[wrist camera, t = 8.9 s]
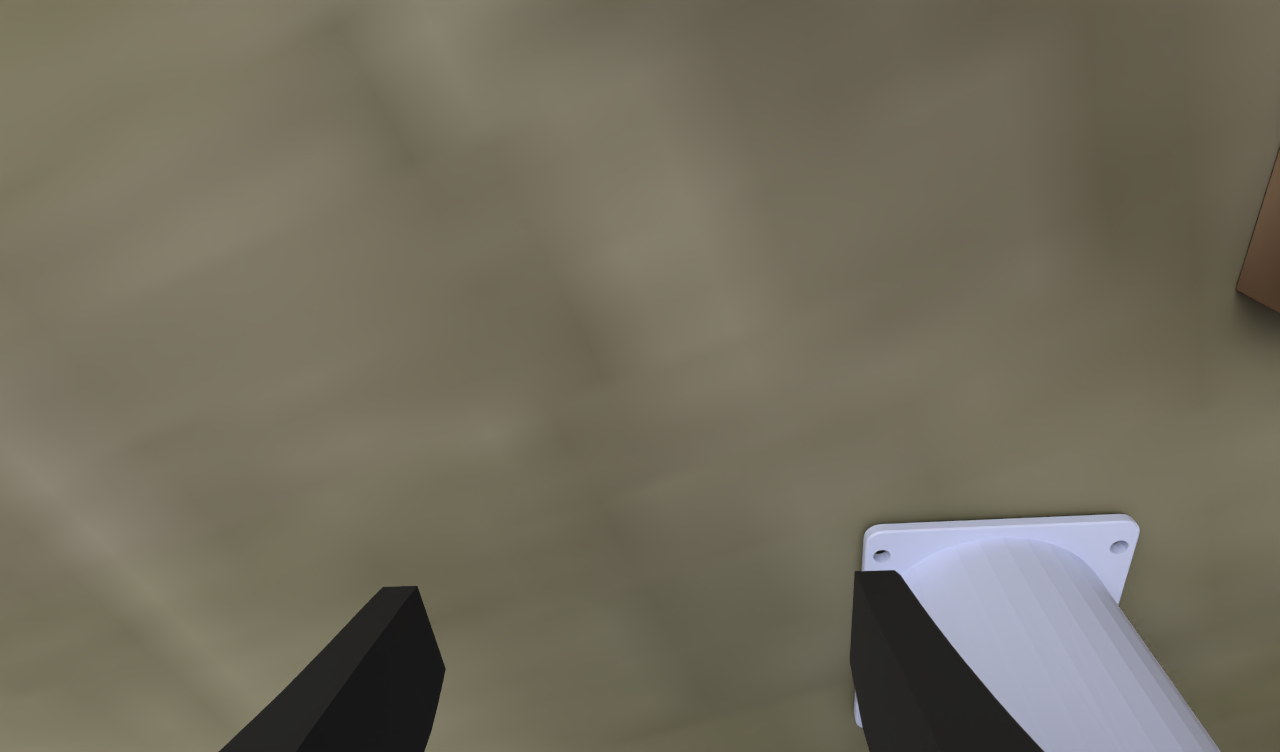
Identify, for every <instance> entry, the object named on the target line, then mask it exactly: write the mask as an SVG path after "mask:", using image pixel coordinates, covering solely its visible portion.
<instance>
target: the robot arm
mask: <svg viewBox="0 0 1280 752" xmlns="http://www.w3.org/2000/svg"><path fill="white" fill-rule="evenodd" d="M1139 533H1140V528H1139V526H1138V524H1137V523H1136V522H1135V521H1134V520H1133V518H1132V517H1130V516H1128V515H1125V514H1107V515H1084V516H1060V517H1037V518H1014V519H990V520H967V521H943V522H920V523H897V524H879V525H874V526H872V527H870V528H869V529H868V530H867V531H866V532H865V534H864V539H863V557H862V571H855V578H854V596H853V614H852V632H851V649H850V664H851V669H852V675H853V680H854V686H855V702H854V716H855V720H856V724H857V725H858V726H859V727H862V728H863V730H864V734H865V737H866V741H867V744H868V747H869V751H870V752H1221V751H1220V750H1219V748H1218V747H1217V746H1216V744H1215V743H1214V741H1213V740H1212V738H1211V737H1210V736H1209V734H1208V733H1207V731H1206V730H1205V728H1204V727H1203V726H1202V724H1201V723H1200V721H1199V720H1198V719H1197V717H1196V716H1195V714H1194V713H1193V711H1192V710H1191V709H1190V707H1189V706H1188V704H1187V703H1186V701H1185V700H1184V699H1183V697H1182V696H1181V694H1180V693H1179V691H1178V690H1177V689H1176V687H1175V686H1174V684H1173V683H1172V681H1171V680H1170V679H1169V677H1168V676H1167V674H1166V673H1165V672H1164V670H1163V669H1162V667H1161V666H1160V664H1159V663H1158V662H1157V660H1156V659H1155V657H1154V656H1153V654H1152V653H1151V652H1150V650H1149V649H1148V647H1147V646H1146V644H1145V643H1144V642H1143V640H1142V639H1141V637H1140V636H1139V634H1138V633H1137V632H1136V630H1135V629H1134V627H1133V626H1132V625H1131V623H1130V622H1129V620H1128V619H1127V617H1126V616H1125V615H1124V613H1123V612H1122V610H1121V609H1120V607H1119V606H1118V605H1119V601H1120V598H1121V595H1122V591H1123V588H1124V584H1125V581H1126V578H1127V574H1128V571H1129V567H1130V564H1131V561H1132V557H1133V554H1134V550H1135V547H1136V544H1137V540H1138V537H1139ZM1117 541H1119V542H1118V543H1116V544H1113V543H1115V542H1117ZM1112 544H1113V545H1112ZM879 550H886V551H885V552H883V553H880V554H875V553H876V552H877V551H879ZM445 670H446V669H445V666H444V663H443V660H442V657H441V654H440V651H439V648H438V645H437V642H436V639H435V636H434V634H433V631H432V628H431V625H430V622H429V619H428V616H427V613H426V610H425V607H424V604H423V601H422V598H421V595H420V592H419V590H418V587H417V586H400V587H382V588H381V589H380V590H379V591H378V593H377V594H376V595H375V596H374V597H373V598H372V599H371V600H370V601H369V602H368V603H367V604H366V605H365V606H364V607H363V608H362V609H361V610H360V611H359V612H358V613H357V614H356V615H355V616H354V617H353V618H352V620H351V621H350V622H349V623H348V624H347V625H346V626H345V627H344V628H343V629H342V630H341V631H340V632H339V633H338V634H337V635H336V636H335V637H334V639H333V640H332V641H331V642H330V643H329V644H328V645H327V646H326V647H325V648H324V649H323V650H322V651H321V652H320V653H319V654H318V655H317V656H316V657H315V658H314V659H313V660H312V661H311V662H310V663H309V664H308V665H307V667H306V668H305V669H304V670H303V671H302V672H301V673H300V674H299V675H298V676H297V677H296V678H295V679H294V680H293V681H292V682H291V683H290V684H289V685H288V686H287V687H286V688H285V689H284V690H283V691H282V692H281V693H280V694H279V695H278V696H277V697H276V698H275V699H274V700H273V701H272V702H271V703H270V704H269V705H267V706H266V707H265V708H264V709H263V710H262V711H261V712H260V713H259V714H258V715H257V716H256V717H255V718H254V719H253V720H252V721H251V722H250V723H249V724H248V725H246V726H245V727H244V728H243V729H242V730H241V731H240V732H239V733H238V734H237V735H236V736H235V737H234V738H233V739H232V740H231V741H230V742H229V743H228V744H227V745H226V746H224V747H223V748H222V749H221V750H220V751H219V752H424V751H425V748H426V745H427V742H428V739H429V736H430V733H431V730H432V726H433V722H434V718H435V714H436V710H437V706H438V702H439V697H440V692H441V688H442V683H443V679H444V674H445Z"/></svg>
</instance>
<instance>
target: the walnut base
mask: <svg viewBox="0 0 1280 752" xmlns="http://www.w3.org/2000/svg"><path fill="white" fill-rule="evenodd" d="M1236 290H1238V291H1240V292H1242V293H1243V294H1245V295H1247V296H1249V297H1251V298H1253V299H1255V300H1256V301H1258V302H1260V303H1262V304H1264V305H1266V306H1267V307H1269V308H1271V309H1273V310H1275V311H1277V312H1279V313H1280V150H1279V153H1278V156H1277V159H1276V163H1275V166H1274V169H1273V172H1272V175H1271V179H1270V182H1269V185H1268V188H1267V192H1266V195H1265V198H1264V201H1263V204H1262V208H1261V211H1260V214H1259V217H1258V220H1257V224H1256V227H1255V230H1254V233H1253V236H1252V240H1251V243H1250V246H1249V249H1248V253H1247V256H1246V259H1245V262H1244V265H1243V269H1242V272H1241V275H1240V278H1239V281H1238V285H1237V288H1236Z"/></svg>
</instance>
